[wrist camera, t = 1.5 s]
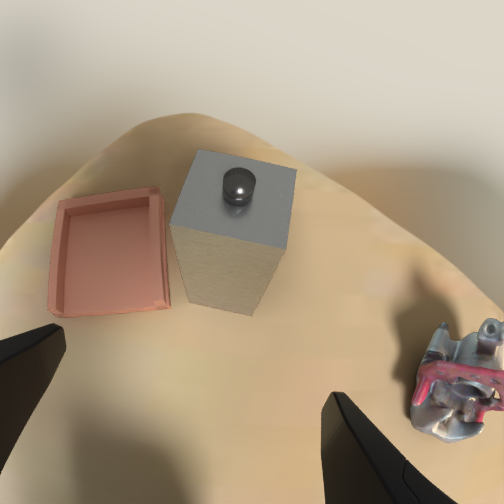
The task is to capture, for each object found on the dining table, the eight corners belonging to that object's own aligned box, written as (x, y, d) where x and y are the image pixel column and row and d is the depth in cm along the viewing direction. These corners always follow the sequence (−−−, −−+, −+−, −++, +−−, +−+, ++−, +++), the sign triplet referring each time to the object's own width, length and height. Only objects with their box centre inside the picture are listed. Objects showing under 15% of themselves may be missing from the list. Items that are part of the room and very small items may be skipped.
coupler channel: (170, 308, 23) (166, 299, 21) (58, 317, 21) (45, 309, 19) (164, 201, 27) (160, 185, 25) (66, 215, 25) (57, 201, 23)
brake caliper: (379, 444, 18) (504, 337, 12) (382, 357, 27) (460, 265, 22) (461, 474, 16) (565, 392, 11) (451, 396, 26) (524, 321, 20)
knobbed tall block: (251, 316, 23) (291, 238, 12) (188, 302, 23) (165, 211, 12) (261, 264, 25) (301, 156, 14) (202, 251, 25) (197, 134, 14)
